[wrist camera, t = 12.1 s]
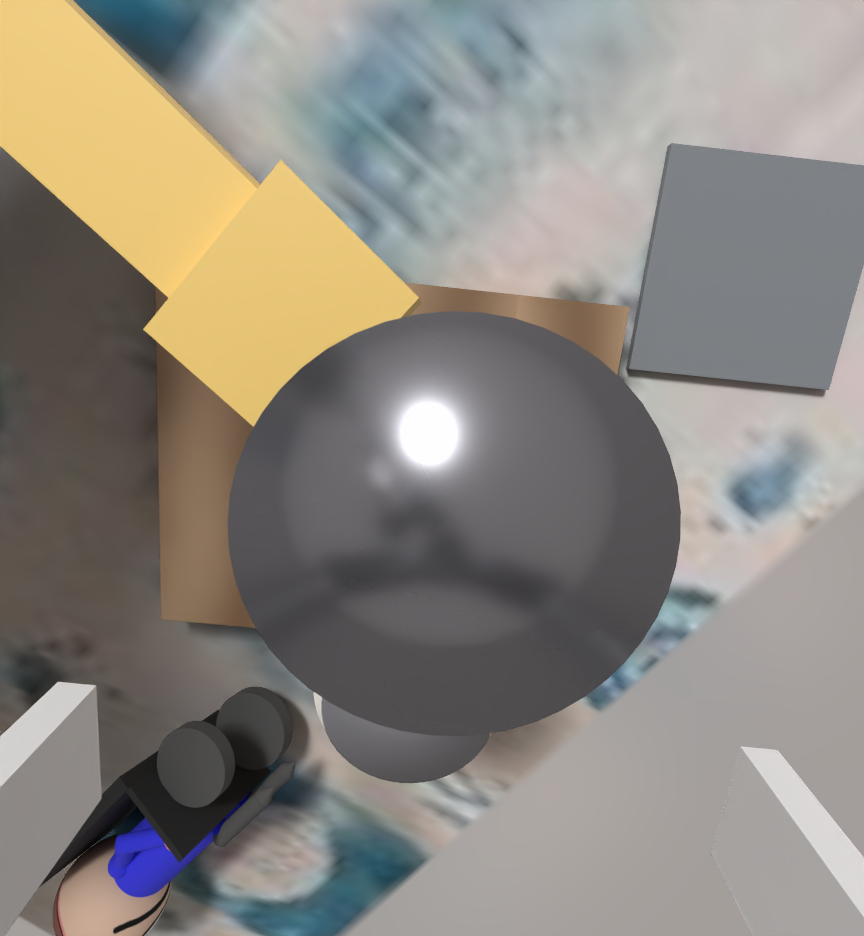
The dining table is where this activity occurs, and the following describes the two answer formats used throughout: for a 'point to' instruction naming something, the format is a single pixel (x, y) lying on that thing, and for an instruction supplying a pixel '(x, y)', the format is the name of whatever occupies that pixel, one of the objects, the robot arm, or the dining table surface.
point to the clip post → (454, 523)
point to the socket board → (225, 431)
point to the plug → (395, 747)
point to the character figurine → (172, 815)
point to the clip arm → (186, 210)
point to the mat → (750, 267)
